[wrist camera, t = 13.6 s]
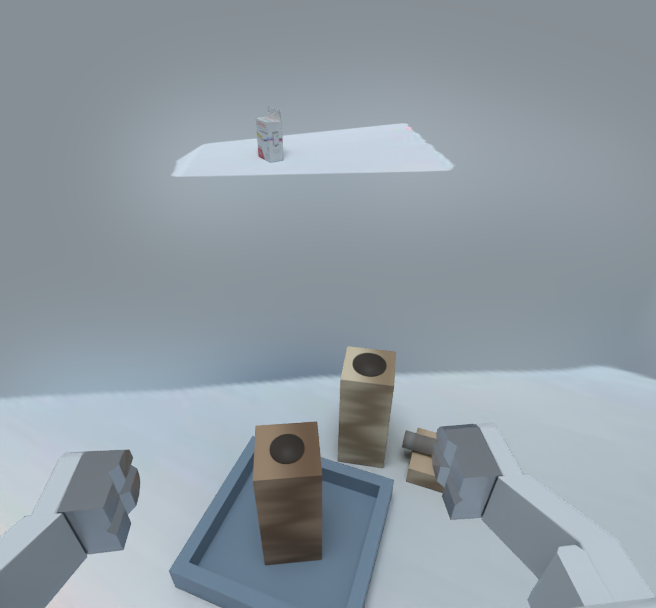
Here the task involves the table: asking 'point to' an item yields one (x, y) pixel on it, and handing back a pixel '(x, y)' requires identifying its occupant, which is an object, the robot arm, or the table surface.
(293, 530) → the walnut block
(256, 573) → the tray
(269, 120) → the ink cartridge box
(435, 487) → the gauge rest
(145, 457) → the table surface
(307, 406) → the table surface
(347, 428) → the oak block
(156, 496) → the table surface
